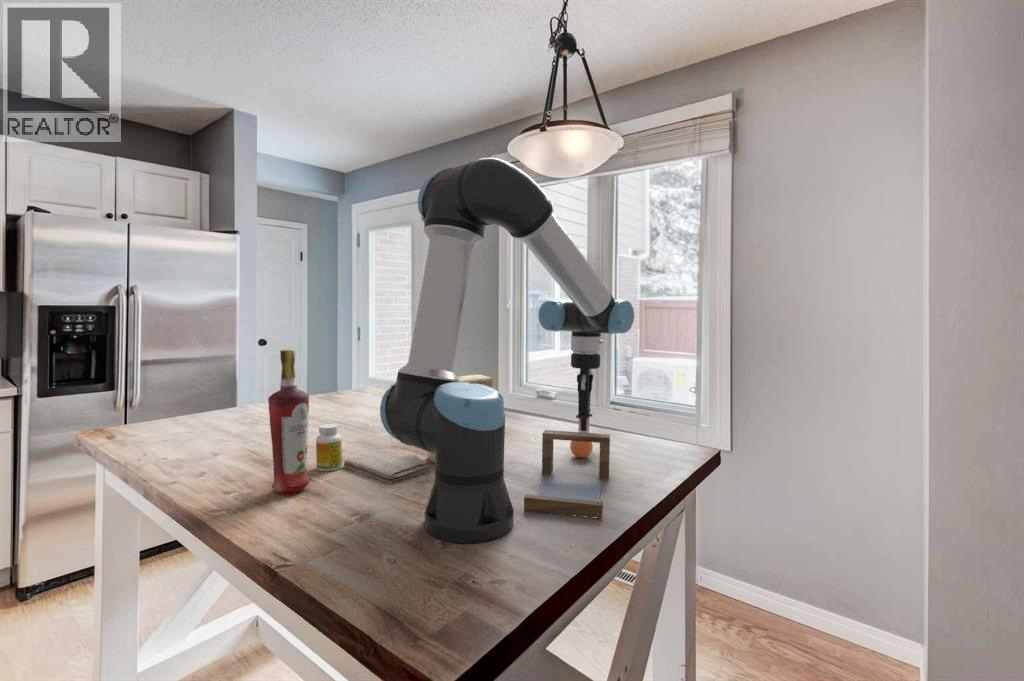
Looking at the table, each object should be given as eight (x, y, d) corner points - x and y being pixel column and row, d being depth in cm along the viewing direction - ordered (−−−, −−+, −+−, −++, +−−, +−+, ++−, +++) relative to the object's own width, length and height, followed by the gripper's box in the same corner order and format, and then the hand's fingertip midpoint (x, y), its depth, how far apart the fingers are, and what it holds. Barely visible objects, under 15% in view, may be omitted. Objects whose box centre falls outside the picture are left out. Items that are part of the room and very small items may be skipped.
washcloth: (392, 488, 102) (392, 473, 102) (340, 469, 113) (340, 456, 112) (434, 472, 111) (434, 459, 111) (383, 457, 122) (383, 445, 122)
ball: (591, 461, 119) (592, 439, 118) (568, 459, 120) (569, 437, 119) (593, 454, 124) (593, 433, 123) (571, 453, 125) (571, 431, 125)
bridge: (608, 479, 106) (609, 437, 105) (541, 473, 109) (542, 433, 109) (609, 475, 109) (610, 434, 108) (544, 469, 112) (544, 429, 112)
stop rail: (602, 519, 86) (602, 505, 86) (523, 510, 90) (524, 497, 90) (602, 515, 88) (602, 502, 88) (525, 507, 91) (525, 494, 91)
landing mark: (597, 509, 91) (597, 508, 91) (533, 502, 94) (533, 501, 94) (601, 486, 102) (601, 485, 102) (544, 480, 105) (544, 479, 105)
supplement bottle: (333, 472, 109) (332, 429, 108) (311, 471, 110) (310, 427, 109) (346, 465, 114) (345, 423, 113) (325, 463, 115) (325, 422, 115)
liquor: (294, 481, 103) (291, 348, 101) (318, 487, 100) (316, 350, 98) (262, 493, 97) (258, 351, 95) (287, 500, 94) (284, 353, 91)
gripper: (599, 355, 121) (596, 450, 122) (601, 350, 134) (599, 436, 135) (568, 354, 123) (566, 447, 124) (573, 350, 135) (572, 434, 137)
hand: (583, 441), depth 130 cm, fingers closed
